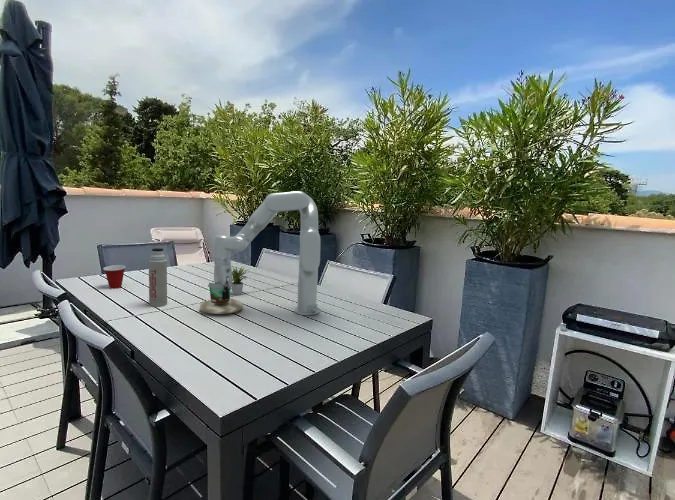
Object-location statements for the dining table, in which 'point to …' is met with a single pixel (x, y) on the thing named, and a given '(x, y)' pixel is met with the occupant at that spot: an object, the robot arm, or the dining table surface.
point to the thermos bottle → (157, 278)
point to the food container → (217, 293)
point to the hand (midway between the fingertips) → (222, 297)
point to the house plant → (237, 281)
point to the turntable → (221, 307)
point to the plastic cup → (114, 275)
